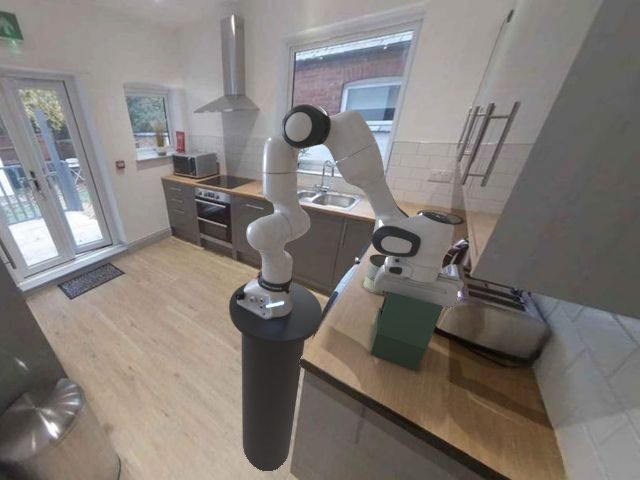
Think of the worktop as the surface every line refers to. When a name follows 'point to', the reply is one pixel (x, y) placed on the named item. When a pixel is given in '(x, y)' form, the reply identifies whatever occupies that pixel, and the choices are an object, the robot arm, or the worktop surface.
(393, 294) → the green flat square panel
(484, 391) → the worktop surface
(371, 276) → the coffee can
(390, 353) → the chest
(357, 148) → the robot arm
